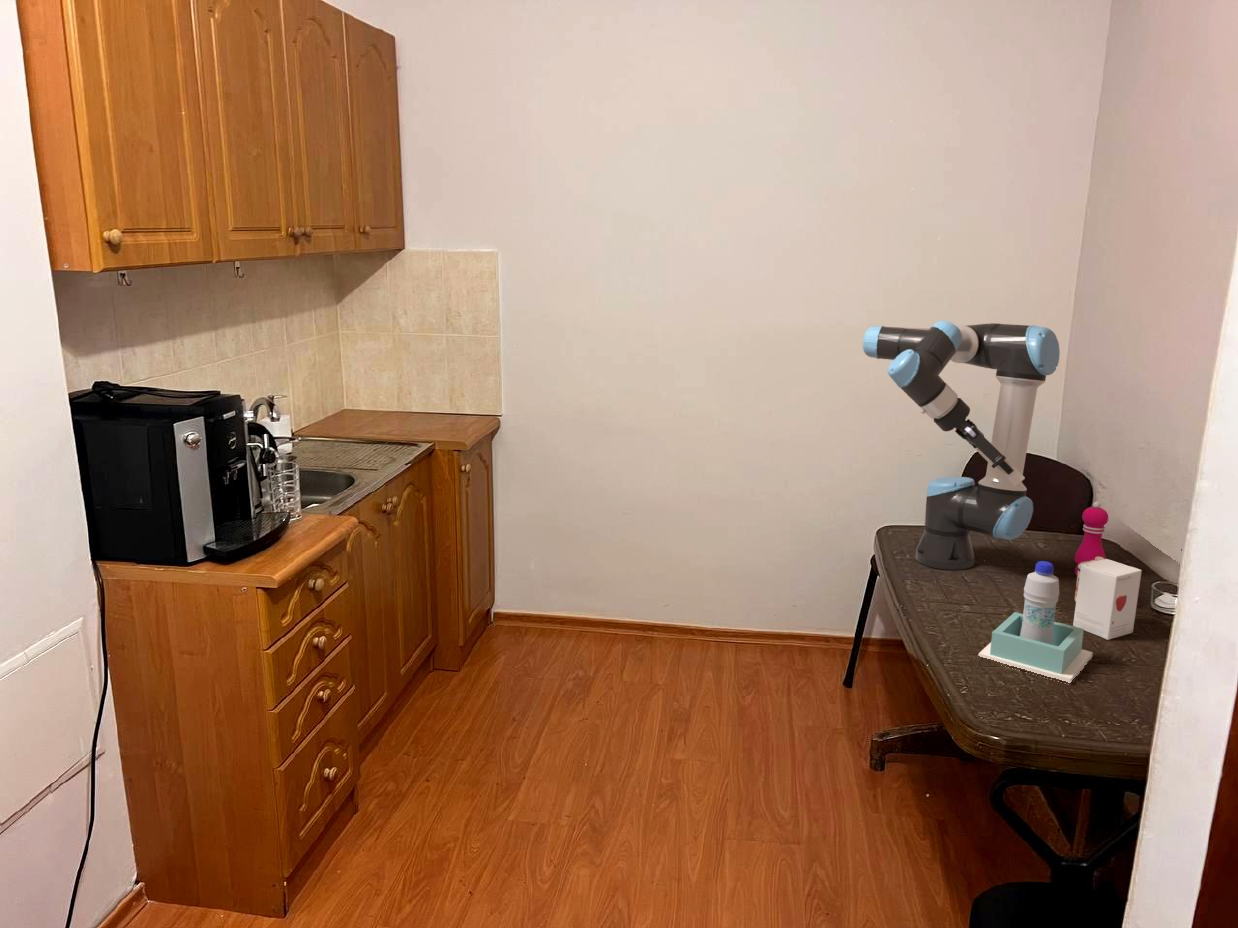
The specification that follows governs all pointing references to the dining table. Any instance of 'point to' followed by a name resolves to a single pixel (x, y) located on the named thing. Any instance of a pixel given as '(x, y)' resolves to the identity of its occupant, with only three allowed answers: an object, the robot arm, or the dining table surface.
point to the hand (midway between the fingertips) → (1009, 473)
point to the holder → (1039, 650)
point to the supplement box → (1107, 598)
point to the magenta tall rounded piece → (1092, 535)
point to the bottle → (1040, 603)
